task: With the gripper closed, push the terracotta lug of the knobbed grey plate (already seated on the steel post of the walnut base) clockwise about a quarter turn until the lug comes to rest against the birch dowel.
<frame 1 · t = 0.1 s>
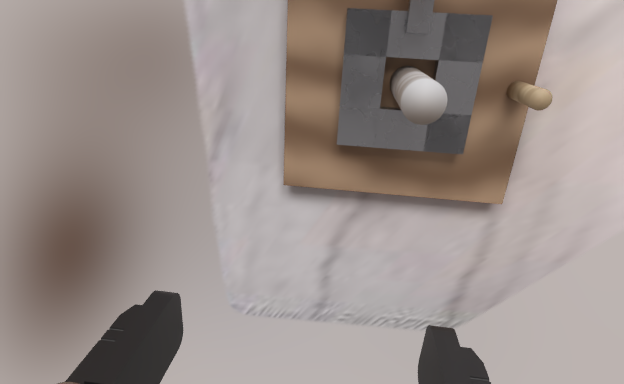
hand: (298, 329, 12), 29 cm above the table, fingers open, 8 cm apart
post base: (403, 80, 37), on the table
knobbed grey plate: (415, 63, 31), point 6 cm above the table, hinge at 0.0°
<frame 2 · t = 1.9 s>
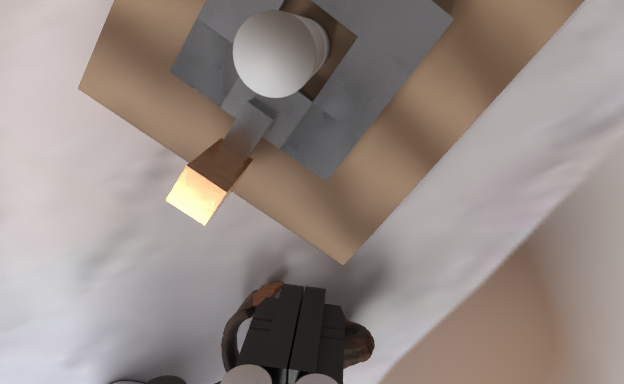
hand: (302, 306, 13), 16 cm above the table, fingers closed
post base: (309, 45, 25), on the table
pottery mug: (306, 317, 34), on the table
knobbed grey plate: (276, 81, 20), point 6 cm above the table, hinge at 0.0°
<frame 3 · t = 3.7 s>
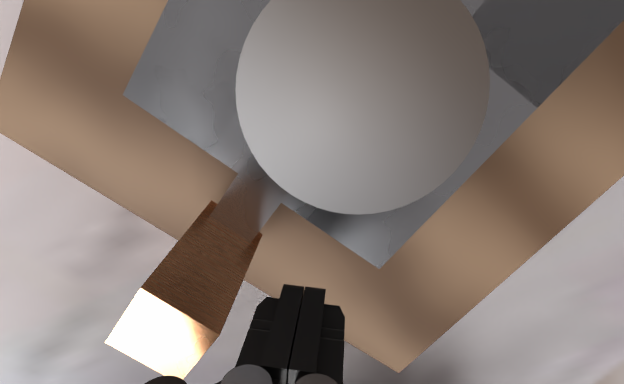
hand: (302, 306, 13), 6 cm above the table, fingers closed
post base: (353, 50, 16), on the table
knobbed grey plate: (311, 119, 11), point 6 cm above the table, hinge at -1.3°, touching gripper
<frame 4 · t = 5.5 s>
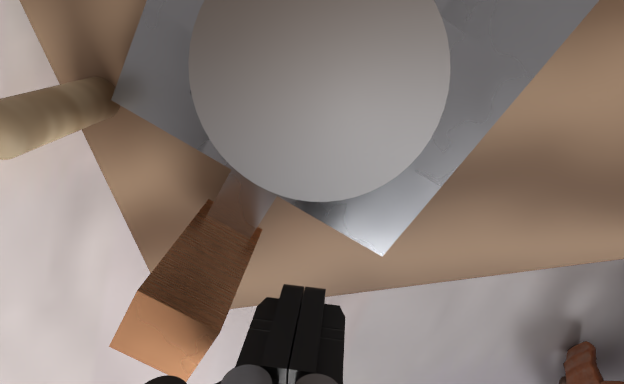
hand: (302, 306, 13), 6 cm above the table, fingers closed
post base: (340, 36, 15), on the table
knobbed grey plate: (297, 110, 11), point 6 cm above the table, hinge at -44.4°, touching gripper
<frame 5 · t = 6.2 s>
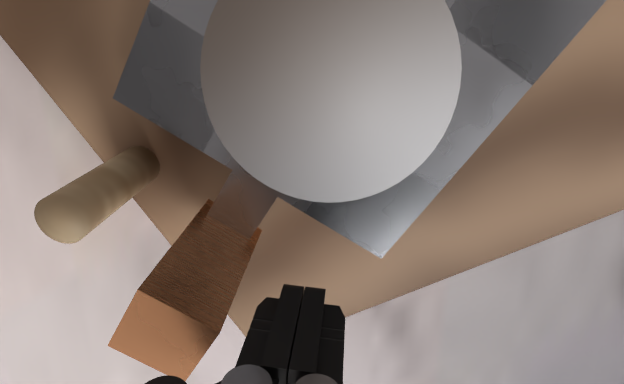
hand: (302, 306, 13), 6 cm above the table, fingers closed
post base: (342, 38, 15), on the table
knobbed grey plate: (300, 111, 11), point 6 cm above the table, hinge at -62.5°, touching gripper
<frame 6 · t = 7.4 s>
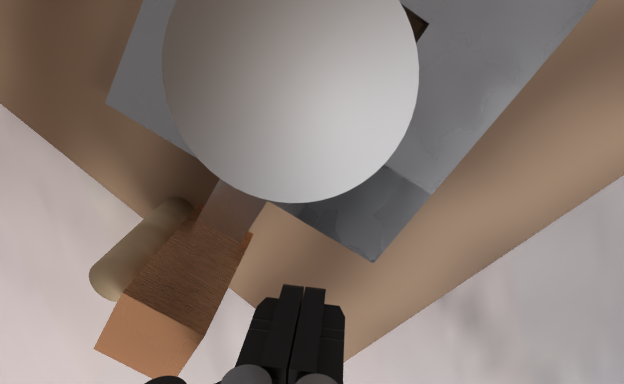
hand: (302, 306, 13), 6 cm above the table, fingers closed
post base: (334, 43, 15), on the table
knobbed grey plate: (287, 115, 11), point 6 cm above the table, hinge at -78.0°
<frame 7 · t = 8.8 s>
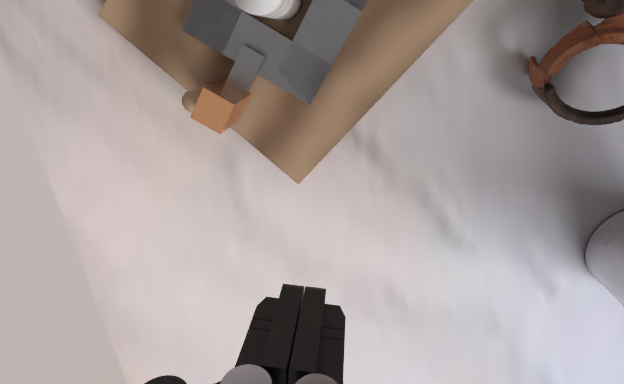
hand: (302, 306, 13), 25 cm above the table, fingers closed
post base: (286, 2, 32), on the table
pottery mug: (583, 39, 32), on the table
knobbed grey plate: (262, 22, 28), point 6 cm above the table, hinge at -78.0°
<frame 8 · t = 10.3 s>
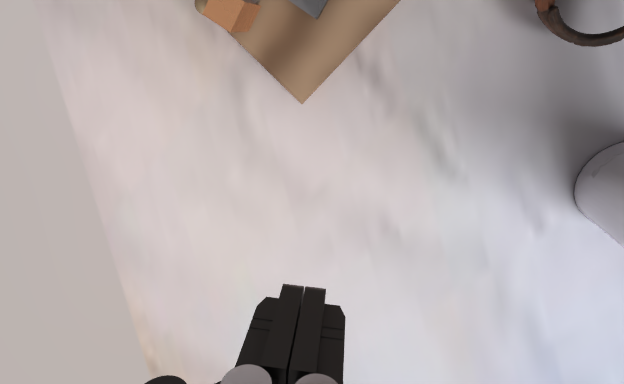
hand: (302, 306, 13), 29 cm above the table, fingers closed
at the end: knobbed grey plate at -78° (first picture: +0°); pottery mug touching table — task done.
